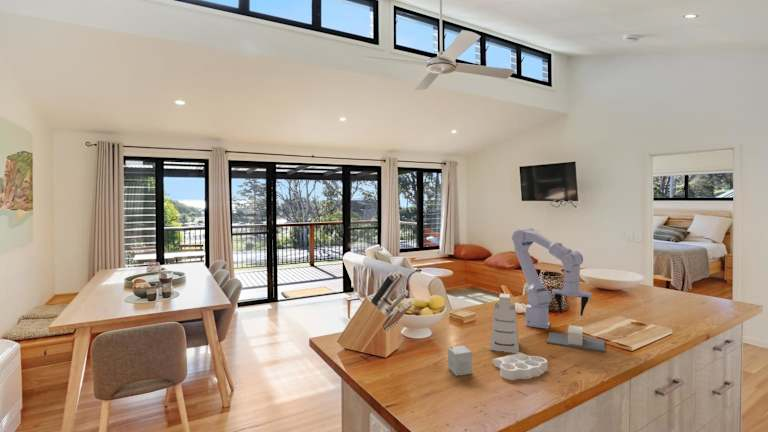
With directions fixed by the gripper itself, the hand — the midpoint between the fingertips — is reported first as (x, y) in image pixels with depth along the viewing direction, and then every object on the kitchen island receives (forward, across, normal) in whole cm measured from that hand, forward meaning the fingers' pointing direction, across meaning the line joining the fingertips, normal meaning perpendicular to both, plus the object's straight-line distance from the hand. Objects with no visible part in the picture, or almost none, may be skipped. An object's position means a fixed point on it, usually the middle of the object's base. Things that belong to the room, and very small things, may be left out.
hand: (571, 313), depth 158 cm
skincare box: (+10, -30, -52) cm, 61 cm away
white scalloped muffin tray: (+10, -13, -42) cm, 45 cm away
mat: (+9, +2, -7) cm, 12 cm away
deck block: (+9, +2, -7) cm, 11 cm away
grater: (+10, -22, -24) cm, 34 cm away
